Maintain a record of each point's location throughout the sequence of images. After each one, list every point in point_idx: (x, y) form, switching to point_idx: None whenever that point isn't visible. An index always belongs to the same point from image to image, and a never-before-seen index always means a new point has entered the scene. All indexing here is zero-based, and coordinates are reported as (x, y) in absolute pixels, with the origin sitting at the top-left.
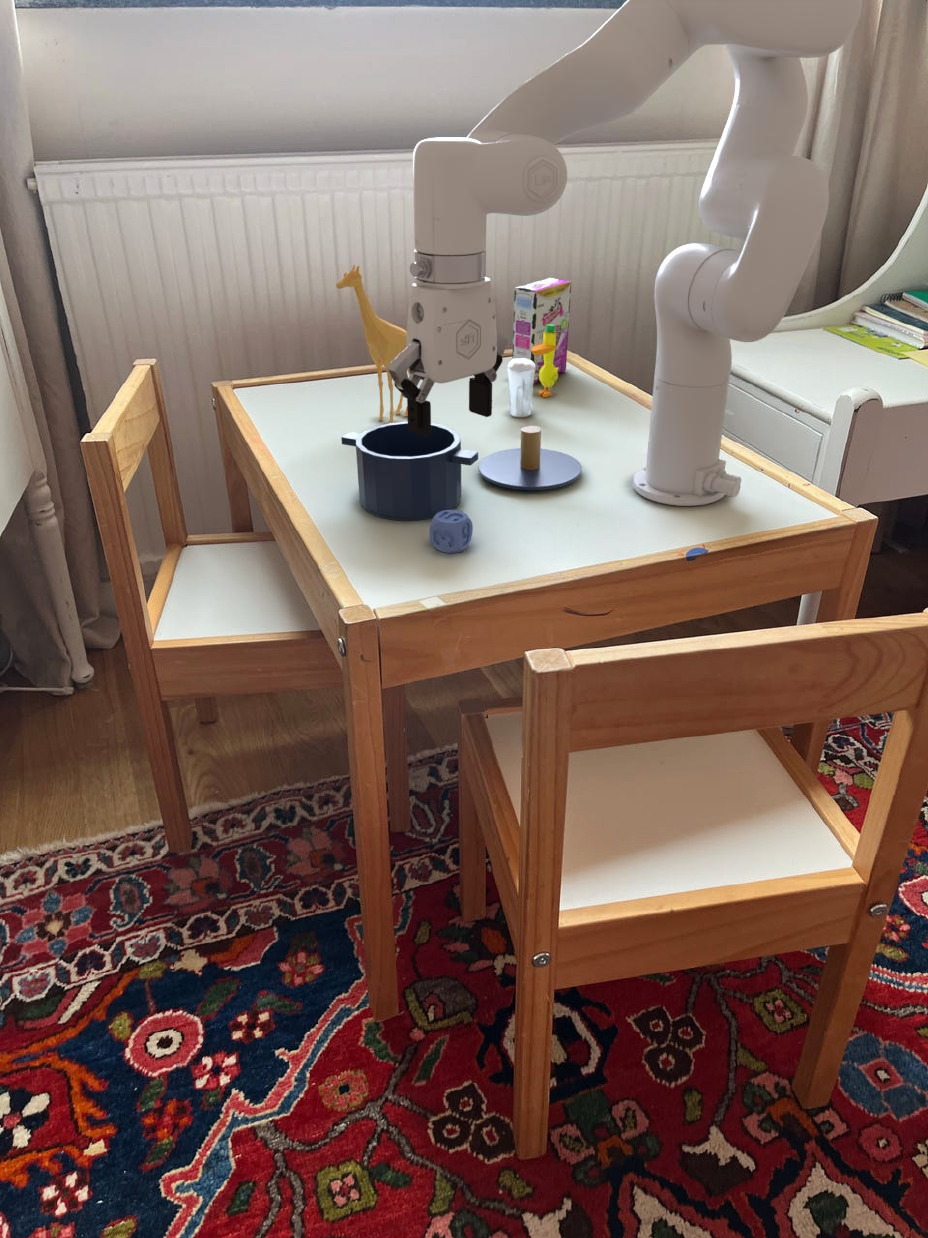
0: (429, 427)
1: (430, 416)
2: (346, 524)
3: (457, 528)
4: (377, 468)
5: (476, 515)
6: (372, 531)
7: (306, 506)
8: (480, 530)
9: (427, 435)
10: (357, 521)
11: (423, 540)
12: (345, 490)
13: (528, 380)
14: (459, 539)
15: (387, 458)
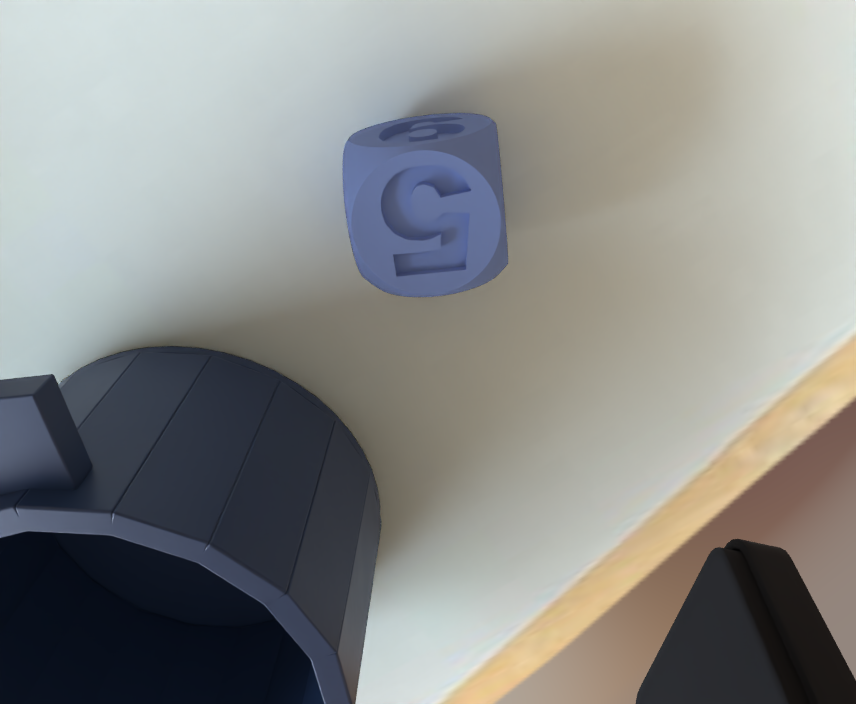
0: (786, 598)
1: (792, 699)
2: (480, 558)
3: (482, 146)
4: (359, 654)
5: (144, 248)
6: (480, 474)
7: (440, 694)
8: (242, 159)
9: (779, 548)
10: (443, 545)
11: (446, 300)
12: None
13: None
14: (487, 121)
15: (342, 663)
